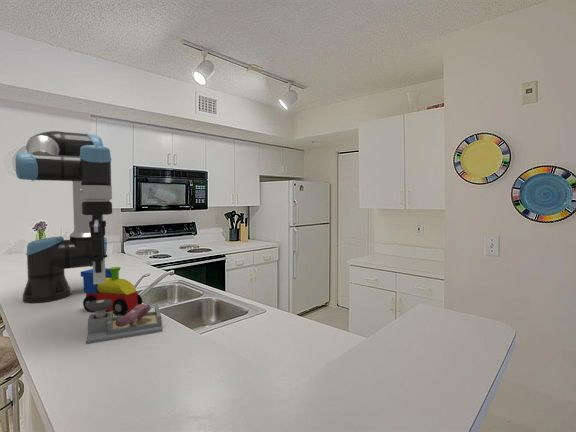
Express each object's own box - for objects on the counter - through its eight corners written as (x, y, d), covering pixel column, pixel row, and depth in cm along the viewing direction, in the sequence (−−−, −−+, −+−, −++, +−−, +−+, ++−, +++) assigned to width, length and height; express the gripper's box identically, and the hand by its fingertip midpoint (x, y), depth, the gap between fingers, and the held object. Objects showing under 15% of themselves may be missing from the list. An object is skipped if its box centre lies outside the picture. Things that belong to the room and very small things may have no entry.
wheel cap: (89, 319, 97) (89, 299, 97) (112, 316, 100) (112, 297, 100) (87, 326, 92) (87, 305, 92) (112, 322, 94) (111, 302, 94)
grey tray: (91, 323, 102) (91, 309, 102) (157, 314, 110) (157, 300, 110) (86, 343, 88) (85, 327, 87) (162, 331, 96) (161, 316, 96)
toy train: (98, 303, 122) (97, 263, 121) (144, 308, 117) (143, 266, 116) (77, 311, 113) (75, 268, 113) (124, 317, 108) (123, 271, 107)
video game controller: (124, 334, 95) (136, 317, 94) (112, 324, 95) (125, 306, 94) (144, 321, 104) (156, 305, 103) (134, 312, 105) (146, 295, 104)
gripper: (85, 200, 100) (87, 277, 101) (77, 201, 85) (80, 290, 86) (113, 200, 103) (115, 274, 104) (110, 200, 88) (113, 287, 90)
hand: (99, 281), depth 95 cm, fingers open, 3 cm apart
